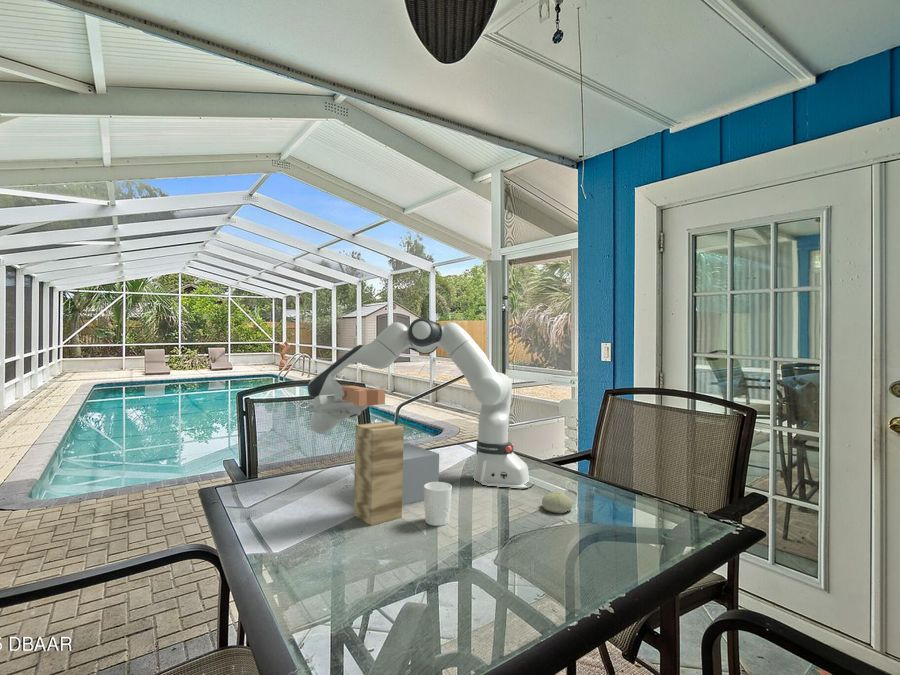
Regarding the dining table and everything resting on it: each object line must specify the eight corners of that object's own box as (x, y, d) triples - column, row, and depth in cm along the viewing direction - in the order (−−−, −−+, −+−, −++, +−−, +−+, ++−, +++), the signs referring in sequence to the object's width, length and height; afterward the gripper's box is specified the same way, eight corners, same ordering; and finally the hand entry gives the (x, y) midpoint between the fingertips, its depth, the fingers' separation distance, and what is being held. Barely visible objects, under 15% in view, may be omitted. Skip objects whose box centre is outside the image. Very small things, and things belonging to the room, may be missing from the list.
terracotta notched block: (384, 404, 147) (385, 389, 147) (358, 406, 141) (359, 391, 141) (359, 398, 159) (359, 385, 159) (334, 400, 154) (335, 386, 154)
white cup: (448, 528, 129) (448, 491, 129) (420, 525, 131) (420, 489, 131) (453, 517, 137) (454, 483, 137) (427, 515, 138) (427, 480, 138)
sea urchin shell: (536, 505, 143) (542, 482, 148) (542, 518, 148) (547, 495, 153) (567, 511, 139) (572, 487, 144) (571, 524, 143) (576, 500, 148)
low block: (438, 496, 154) (439, 453, 154) (399, 506, 145) (400, 460, 145) (407, 482, 168) (407, 443, 168) (369, 490, 159) (370, 448, 159)
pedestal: (401, 517, 136) (403, 426, 136) (371, 525, 130) (373, 430, 130) (383, 507, 144) (385, 421, 144) (353, 514, 137) (355, 424, 137)
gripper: (304, 402, 158) (320, 384, 149) (359, 398, 171) (376, 381, 162) (308, 420, 155) (324, 403, 146) (363, 414, 168) (381, 398, 159)
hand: (352, 392), depth 154 cm, fingers closed on terracotta notched block, 4 cm apart
